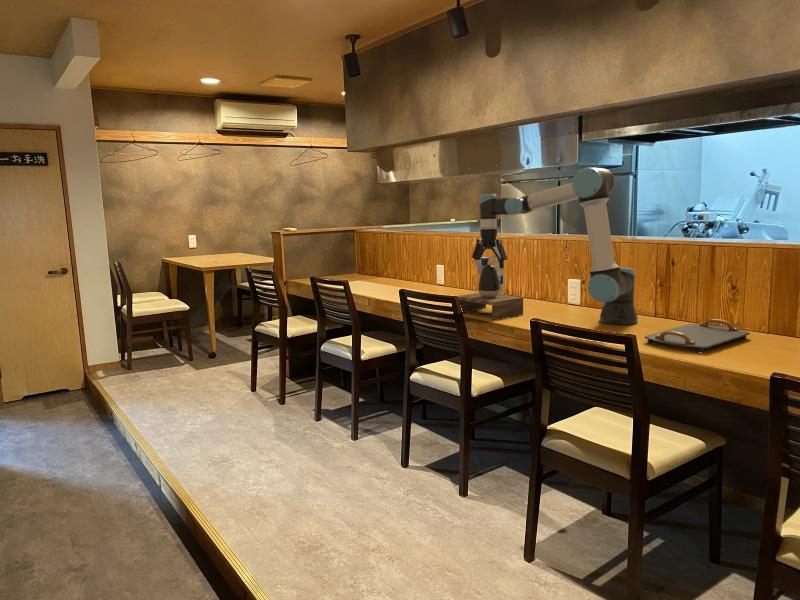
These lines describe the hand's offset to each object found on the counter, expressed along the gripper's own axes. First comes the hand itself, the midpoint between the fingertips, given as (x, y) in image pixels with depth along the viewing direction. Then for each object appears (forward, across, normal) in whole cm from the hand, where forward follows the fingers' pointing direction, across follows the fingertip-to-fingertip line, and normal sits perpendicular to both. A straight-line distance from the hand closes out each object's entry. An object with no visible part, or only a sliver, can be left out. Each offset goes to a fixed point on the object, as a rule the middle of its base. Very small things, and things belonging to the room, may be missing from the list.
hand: (489, 274), depth 278 cm
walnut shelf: (+18, +1, 0) cm, 18 cm away
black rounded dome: (+10, 0, 0) cm, 11 cm away
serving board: (+21, -90, -15) cm, 93 cm away
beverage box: (+18, +33, -34) cm, 50 cm away
